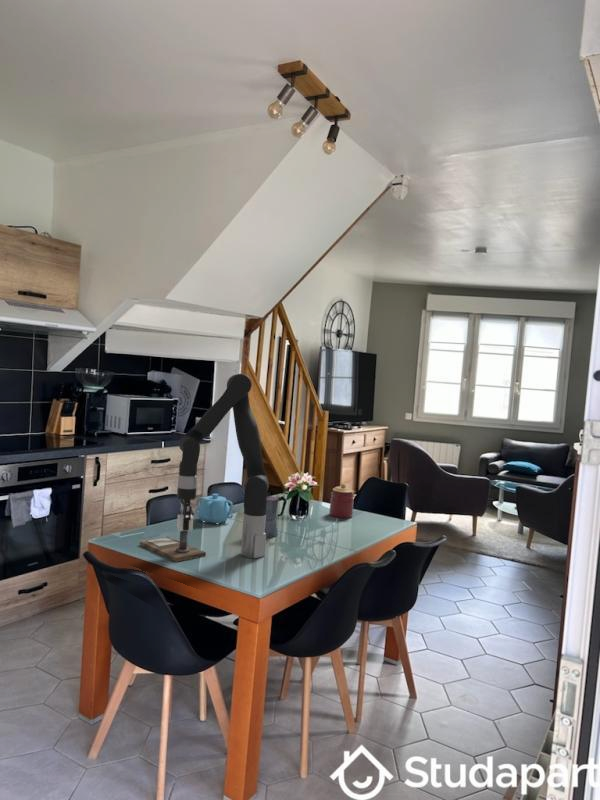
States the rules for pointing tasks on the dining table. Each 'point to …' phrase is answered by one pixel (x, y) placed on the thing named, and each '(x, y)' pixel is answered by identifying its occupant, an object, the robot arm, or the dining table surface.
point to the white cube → (180, 522)
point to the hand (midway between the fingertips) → (184, 527)
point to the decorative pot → (214, 509)
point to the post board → (173, 547)
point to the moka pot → (272, 514)
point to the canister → (341, 502)
